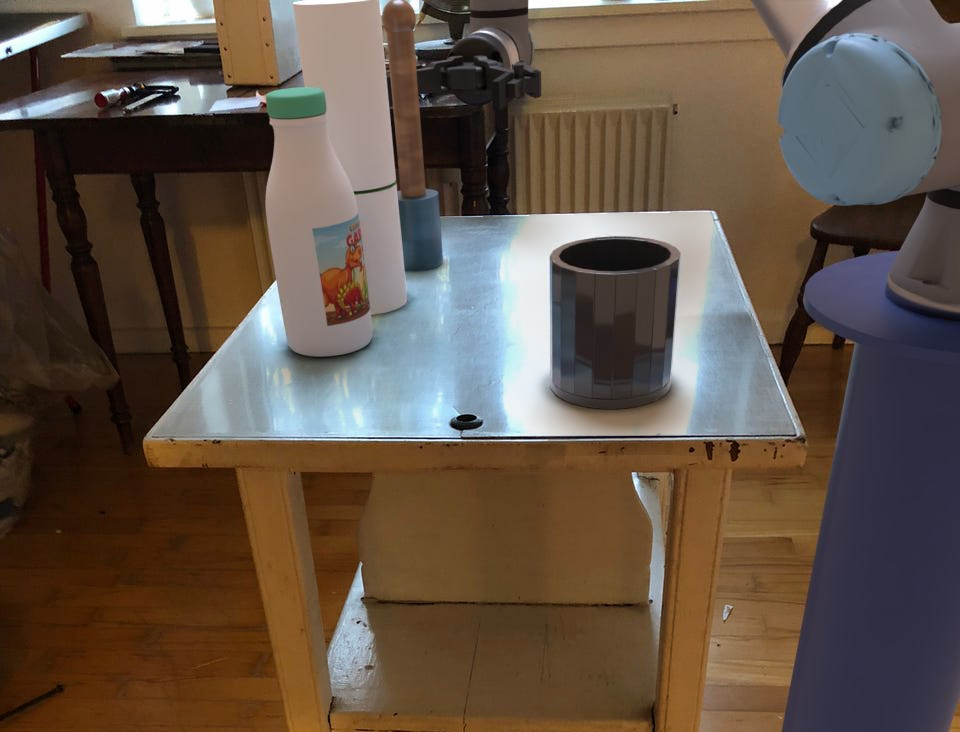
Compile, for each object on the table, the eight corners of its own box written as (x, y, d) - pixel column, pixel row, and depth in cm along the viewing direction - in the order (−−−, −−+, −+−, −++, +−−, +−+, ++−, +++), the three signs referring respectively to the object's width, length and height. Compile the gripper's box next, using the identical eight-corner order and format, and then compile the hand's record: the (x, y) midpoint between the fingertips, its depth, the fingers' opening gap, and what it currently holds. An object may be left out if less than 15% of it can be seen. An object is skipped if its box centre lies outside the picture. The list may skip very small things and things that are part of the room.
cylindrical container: (381, 286, 100) (350, -5, 85) (421, 302, 95) (395, -3, 80) (321, 302, 97) (277, 3, 81) (359, 320, 92) (320, 5, 77)
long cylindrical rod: (448, 256, 107) (431, -5, 92) (435, 271, 103) (415, 0, 89) (403, 255, 108) (379, -3, 94) (389, 270, 104) (361, 2, 90)
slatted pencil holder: (675, 364, 80) (685, 237, 74) (664, 412, 73) (673, 275, 66) (562, 359, 82) (562, 235, 76) (540, 405, 75) (538, 272, 69)
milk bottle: (299, 365, 84) (255, 102, 71) (279, 337, 89) (235, 89, 77) (384, 349, 86) (356, 91, 74) (360, 322, 91) (329, 79, 79)
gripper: (581, 100, 120) (548, 135, 104) (390, 102, 126) (330, 135, 110) (582, 29, 116) (548, 53, 99) (383, 34, 121) (320, 58, 105)
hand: (434, 96), depth 104 cm, fingers open, 13 cm apart
